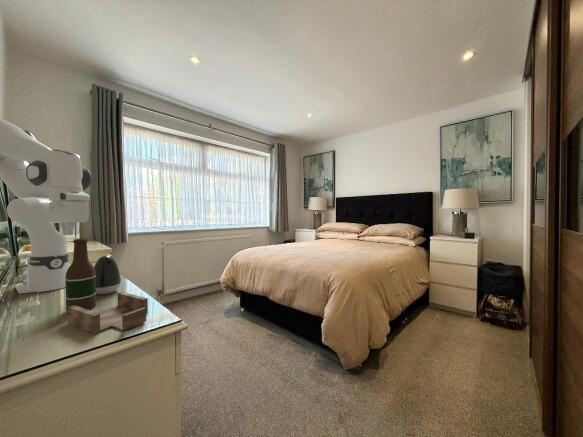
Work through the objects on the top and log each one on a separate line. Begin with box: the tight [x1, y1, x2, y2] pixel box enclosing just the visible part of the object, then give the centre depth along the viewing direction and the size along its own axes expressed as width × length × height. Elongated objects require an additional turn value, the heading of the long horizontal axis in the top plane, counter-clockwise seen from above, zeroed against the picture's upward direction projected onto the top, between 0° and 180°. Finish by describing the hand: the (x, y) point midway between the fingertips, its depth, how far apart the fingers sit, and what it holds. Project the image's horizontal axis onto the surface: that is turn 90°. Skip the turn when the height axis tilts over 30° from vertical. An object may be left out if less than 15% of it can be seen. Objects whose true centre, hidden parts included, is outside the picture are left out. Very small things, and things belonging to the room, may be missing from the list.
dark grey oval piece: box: [93, 255, 122, 296], centre depth 98 cm, size 10×10×15 cm
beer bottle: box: [64, 238, 97, 313], centre depth 81 cm, size 8×8×24 cm
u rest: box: [67, 291, 149, 336], centre depth 73 cm, size 20×15×5 cm
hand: (67, 235), depth 85 cm, fingers closed
